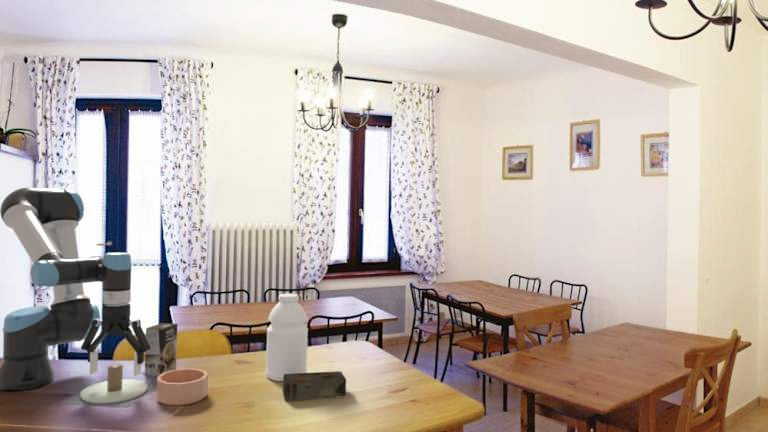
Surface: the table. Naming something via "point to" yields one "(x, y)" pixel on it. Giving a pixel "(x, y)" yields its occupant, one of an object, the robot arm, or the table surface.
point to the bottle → (286, 338)
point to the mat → (78, 401)
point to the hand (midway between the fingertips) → (115, 373)
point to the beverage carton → (313, 385)
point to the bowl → (182, 386)
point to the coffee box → (161, 349)
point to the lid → (113, 388)
